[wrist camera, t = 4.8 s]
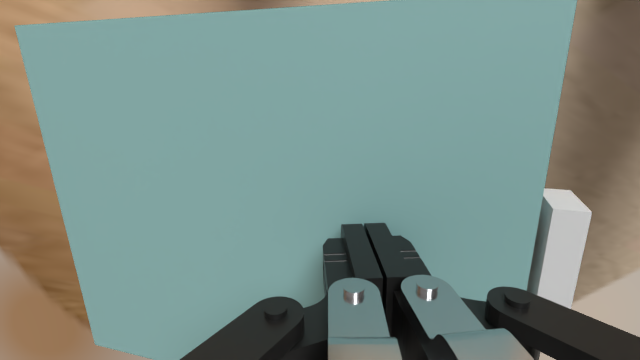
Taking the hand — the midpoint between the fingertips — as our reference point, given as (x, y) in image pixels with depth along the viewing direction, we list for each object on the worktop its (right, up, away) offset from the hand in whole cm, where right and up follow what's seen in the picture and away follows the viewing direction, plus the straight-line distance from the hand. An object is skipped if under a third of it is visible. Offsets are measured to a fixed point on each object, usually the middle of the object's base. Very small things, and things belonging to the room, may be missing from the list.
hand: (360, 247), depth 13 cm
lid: (-3, +1, +3) cm, 4 cm away
